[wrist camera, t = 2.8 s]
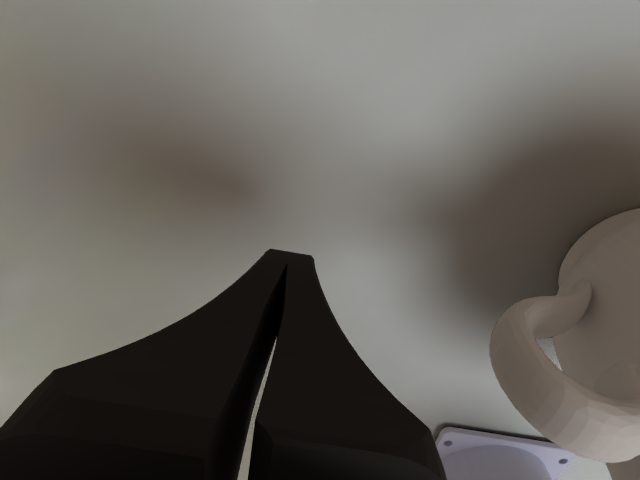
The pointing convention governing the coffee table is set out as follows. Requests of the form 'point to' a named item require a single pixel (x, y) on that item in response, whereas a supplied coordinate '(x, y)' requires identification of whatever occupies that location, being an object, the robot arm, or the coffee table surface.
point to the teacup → (582, 350)
